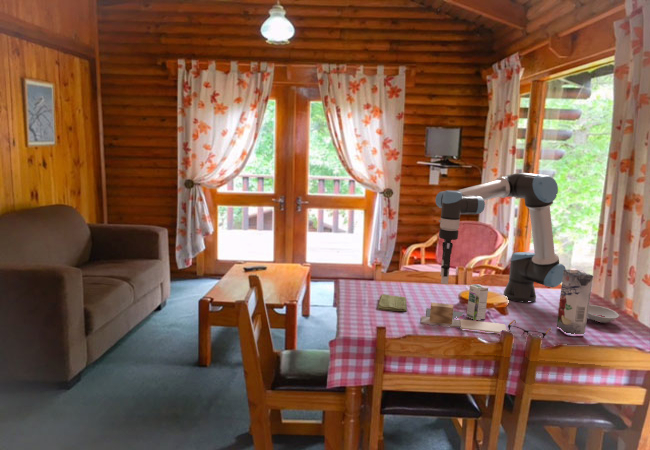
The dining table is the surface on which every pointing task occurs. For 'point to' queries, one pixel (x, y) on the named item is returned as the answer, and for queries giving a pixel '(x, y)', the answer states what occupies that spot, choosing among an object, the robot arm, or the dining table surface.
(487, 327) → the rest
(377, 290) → the dining table surface
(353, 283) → the dining table surface
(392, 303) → the washcloth
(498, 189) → the robot arm
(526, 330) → the eyeglasses
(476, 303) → the syrup box
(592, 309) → the dish
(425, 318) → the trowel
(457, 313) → the mat
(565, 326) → the juice carton
